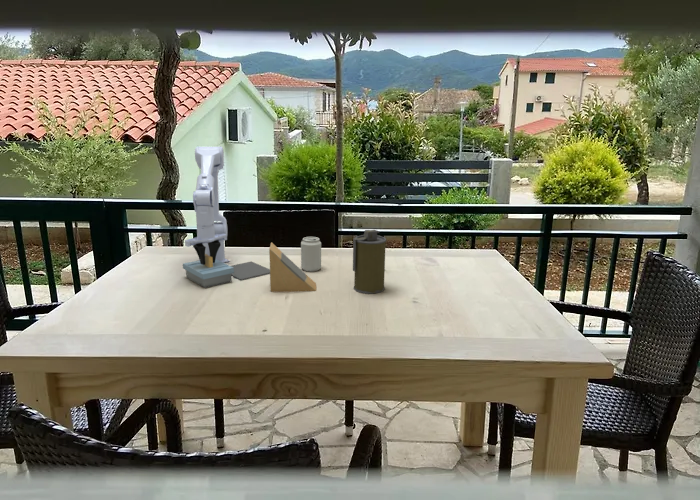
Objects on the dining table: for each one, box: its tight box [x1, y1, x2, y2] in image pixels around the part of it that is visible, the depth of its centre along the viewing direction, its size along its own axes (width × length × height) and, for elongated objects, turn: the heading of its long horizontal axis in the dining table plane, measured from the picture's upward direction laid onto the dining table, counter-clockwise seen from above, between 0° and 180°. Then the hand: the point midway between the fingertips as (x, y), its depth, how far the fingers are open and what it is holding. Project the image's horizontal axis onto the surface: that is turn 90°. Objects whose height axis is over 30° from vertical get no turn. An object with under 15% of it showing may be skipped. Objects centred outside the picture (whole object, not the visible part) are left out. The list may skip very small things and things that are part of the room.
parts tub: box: [185, 270, 233, 289], centre depth 180 cm, size 14×10×4 cm
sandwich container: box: [268, 242, 317, 293], centre depth 173 cm, size 9×15×15 cm, turn 95°
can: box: [300, 236, 322, 273], centre depth 192 cm, size 8×8×12 cm
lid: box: [182, 254, 234, 279], centre depth 179 cm, size 15×11×5 cm
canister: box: [352, 229, 387, 295], centre depth 172 cm, size 11×10×20 cm
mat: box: [230, 261, 270, 281], centre depth 190 cm, size 16×14×1 cm
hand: (207, 263), depth 179 cm, fingers open, 3 cm apart
